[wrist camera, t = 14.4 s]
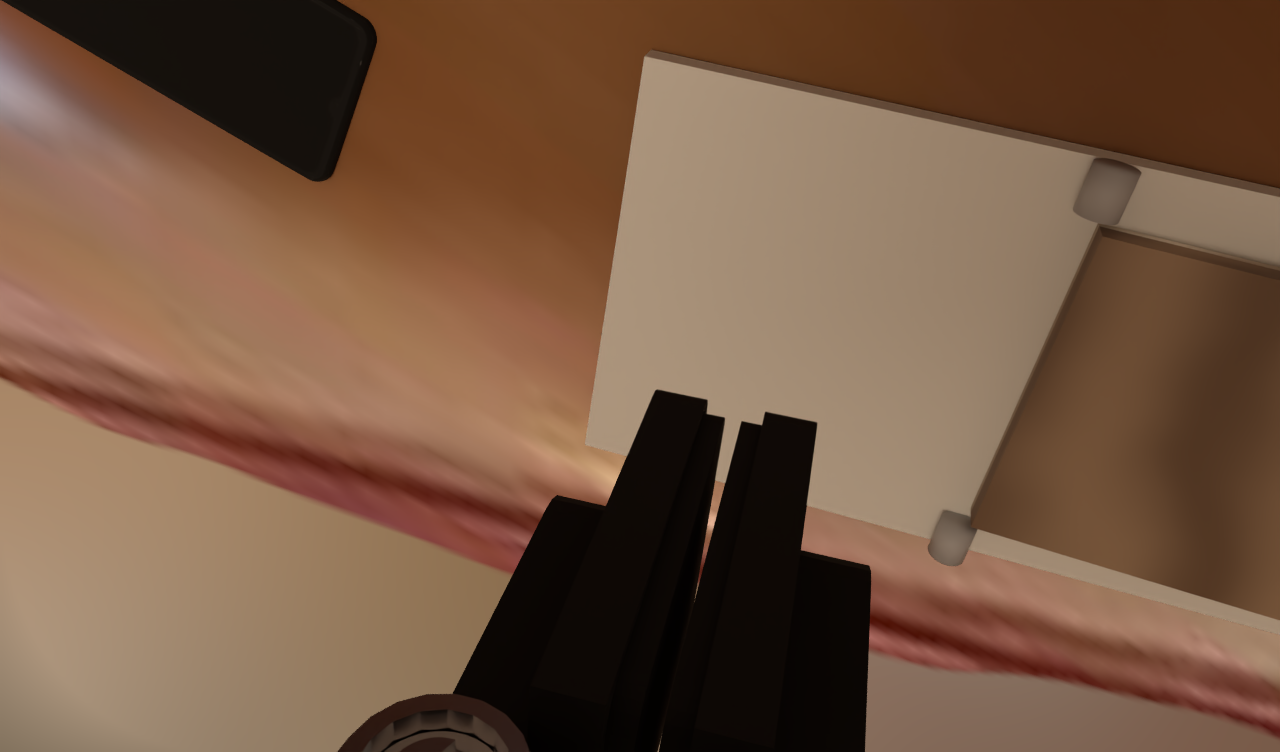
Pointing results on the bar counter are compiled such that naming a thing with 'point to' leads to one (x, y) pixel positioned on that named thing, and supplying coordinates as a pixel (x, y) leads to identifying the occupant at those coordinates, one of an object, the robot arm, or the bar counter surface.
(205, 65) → the smartphone
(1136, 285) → the flip plaque
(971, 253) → the plaque base
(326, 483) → the bar counter surface
